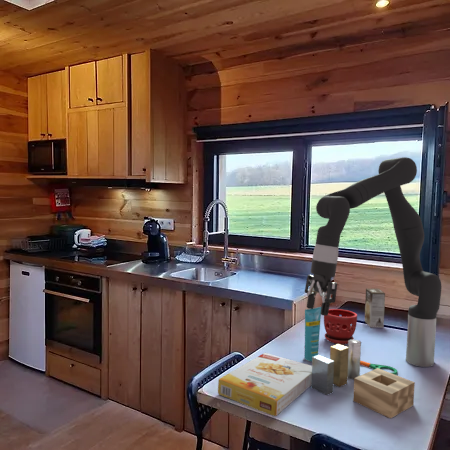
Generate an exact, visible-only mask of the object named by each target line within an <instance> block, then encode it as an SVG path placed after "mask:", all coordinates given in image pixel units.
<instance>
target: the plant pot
mask: <svg viewBox="0 0 450 450" xmlns="http://www.w3.org/2000/svg"><path fill="white" fill-rule="evenodd" d="M357 322H358V314H357V313H356V312H353V311H351V310H347V309H339V308H329V312H328V315H327V316H325V315H323V325H324V329H325V334H324V338H325V339H326V340H327V342H330V343H332V344H334V345H336V344H340V345H348V341H349V340H355V338H354V337H353V335H354V334H355V332H356V330H357V329H356V327H357Z"/></svg>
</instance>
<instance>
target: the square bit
mask: <svg viewBox="0 0 450 450" xmlns="http://www.w3.org/2000/svg"><path fill="white" fill-rule="evenodd" d="M348 351H349V348H348V346H346V345H344V344H334V345H331V346H330V349H329V353H330V354H329V359H330V360H333V361H334V378H333V384H334V385H333V386H336V387H338V388H341V387H343V386H345V384H346V385H347V384H348Z"/></svg>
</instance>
